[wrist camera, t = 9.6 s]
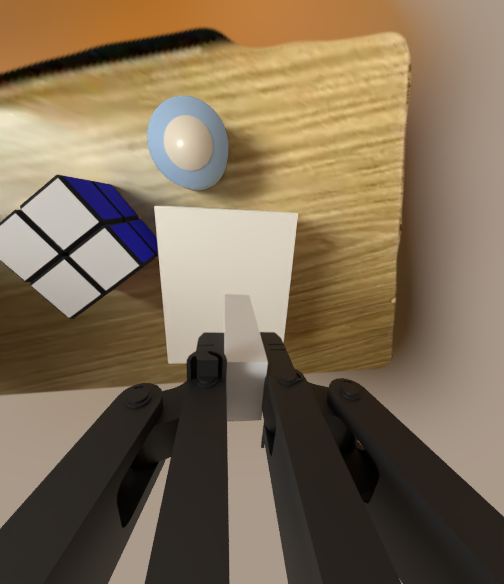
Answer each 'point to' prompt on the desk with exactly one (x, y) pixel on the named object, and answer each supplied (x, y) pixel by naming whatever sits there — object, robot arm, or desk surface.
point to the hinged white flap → (221, 269)
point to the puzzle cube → (75, 242)
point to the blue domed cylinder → (188, 142)
